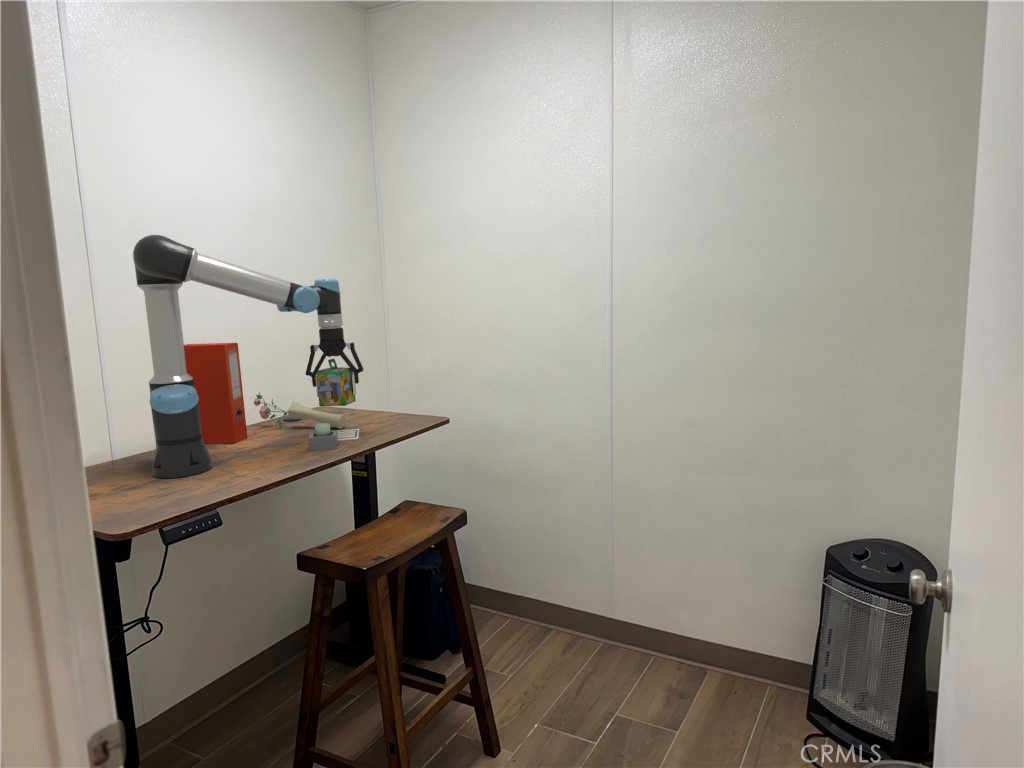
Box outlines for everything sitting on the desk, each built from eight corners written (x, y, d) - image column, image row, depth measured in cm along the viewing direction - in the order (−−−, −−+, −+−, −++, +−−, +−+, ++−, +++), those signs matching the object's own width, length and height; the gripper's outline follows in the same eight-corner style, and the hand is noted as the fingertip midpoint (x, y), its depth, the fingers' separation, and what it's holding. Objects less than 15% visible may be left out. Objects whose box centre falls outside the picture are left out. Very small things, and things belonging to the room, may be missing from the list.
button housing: (309, 451, 202) (308, 438, 202) (312, 444, 210) (311, 432, 210) (336, 448, 204) (335, 435, 203) (338, 442, 212) (337, 430, 211)
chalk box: (344, 406, 213) (341, 360, 211) (318, 406, 215) (314, 361, 213) (356, 401, 222) (353, 356, 220) (331, 401, 224) (327, 357, 222)
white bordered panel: (319, 442, 213) (319, 441, 212) (323, 432, 226) (323, 431, 226) (357, 439, 215) (357, 438, 215) (359, 429, 228) (359, 428, 228)
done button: (315, 439, 204) (314, 426, 203) (316, 436, 208) (315, 423, 208) (330, 438, 205) (329, 425, 204) (331, 435, 209) (330, 422, 208)
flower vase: (334, 452, 230) (242, 429, 236) (350, 433, 240) (262, 412, 246) (333, 423, 224) (239, 400, 230) (349, 405, 235) (259, 384, 240)
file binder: (200, 437, 226) (189, 343, 221) (248, 437, 224) (237, 342, 218) (185, 443, 219) (173, 346, 213) (234, 443, 216) (223, 345, 210)
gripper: (291, 330, 209) (298, 399, 212) (367, 326, 213) (373, 394, 217) (294, 328, 216) (301, 395, 220) (368, 324, 220) (373, 390, 224)
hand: (336, 395), depth 218 cm, fingers closed on chalk box, 11 cm apart
